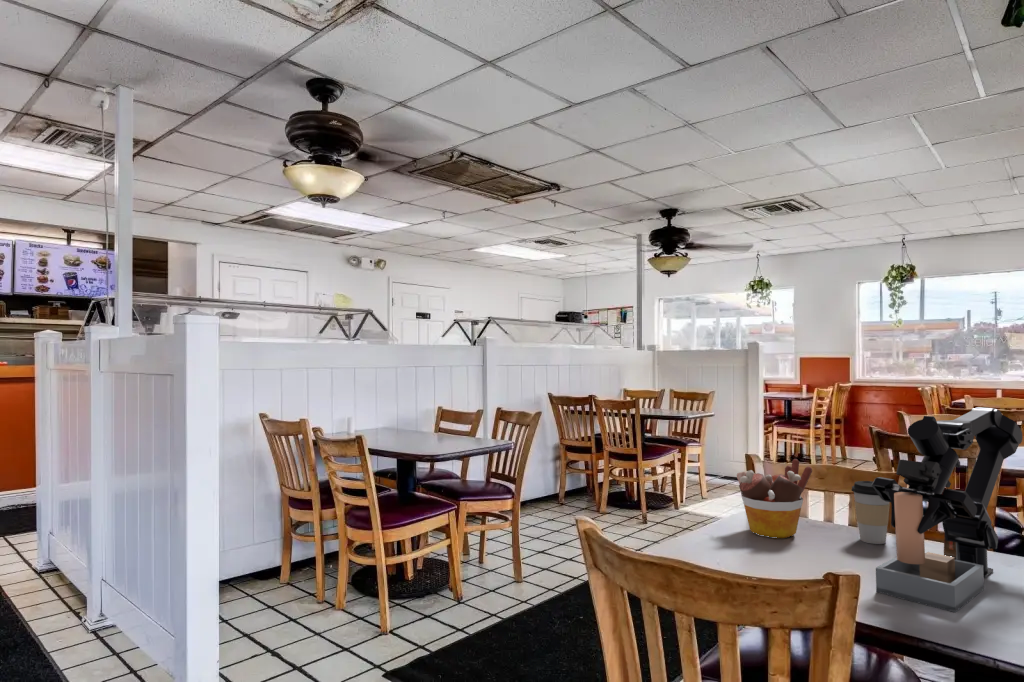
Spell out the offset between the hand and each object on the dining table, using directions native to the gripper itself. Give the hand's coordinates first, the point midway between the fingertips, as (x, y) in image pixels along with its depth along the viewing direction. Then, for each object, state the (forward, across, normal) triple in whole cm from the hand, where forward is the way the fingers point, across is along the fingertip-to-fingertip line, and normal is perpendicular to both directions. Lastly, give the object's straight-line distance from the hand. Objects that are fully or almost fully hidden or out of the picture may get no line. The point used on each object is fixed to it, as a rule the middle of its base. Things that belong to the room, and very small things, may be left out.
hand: (905, 529), depth 130 cm
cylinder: (+4, 0, +6) cm, 7 cm away
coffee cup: (-11, -26, +30) cm, 42 cm away
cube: (+1, 0, +16) cm, 16 cm away
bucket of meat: (0, -44, +19) cm, 48 cm away
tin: (-16, -11, +36) cm, 41 cm away
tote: (+5, +1, +14) cm, 15 cm away
